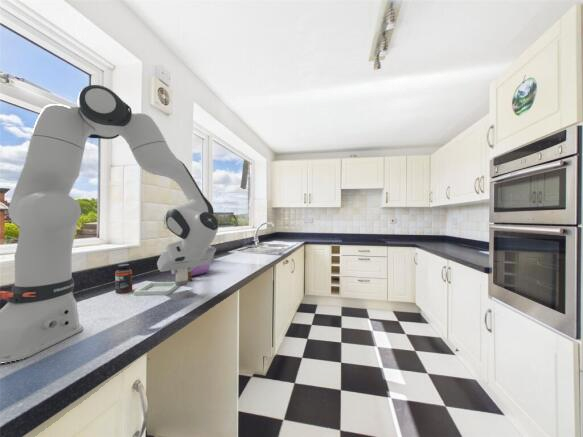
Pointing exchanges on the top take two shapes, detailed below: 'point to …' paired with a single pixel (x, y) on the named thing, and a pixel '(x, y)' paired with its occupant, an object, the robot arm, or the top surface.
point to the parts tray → (156, 292)
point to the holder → (181, 295)
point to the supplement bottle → (123, 279)
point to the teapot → (199, 269)
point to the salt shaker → (181, 277)
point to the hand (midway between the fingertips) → (180, 271)
